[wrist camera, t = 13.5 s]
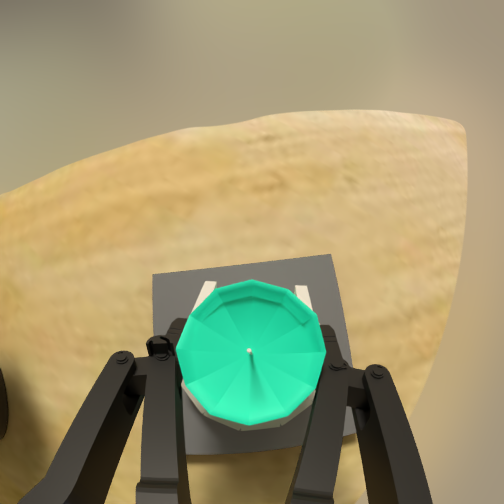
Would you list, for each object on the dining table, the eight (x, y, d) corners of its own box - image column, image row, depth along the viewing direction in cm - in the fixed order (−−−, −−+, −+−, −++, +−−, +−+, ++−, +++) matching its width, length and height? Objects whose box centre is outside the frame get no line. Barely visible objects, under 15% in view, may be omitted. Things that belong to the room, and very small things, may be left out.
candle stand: (171, 449, 19) (159, 460, 15) (157, 279, 25) (144, 266, 22) (354, 428, 19) (369, 436, 16) (327, 260, 26) (336, 244, 22)
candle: (269, 308, 21) (280, 239, 10) (308, 373, 19) (367, 376, 8) (201, 343, 20) (138, 312, 9) (238, 411, 18) (213, 460, 7)
